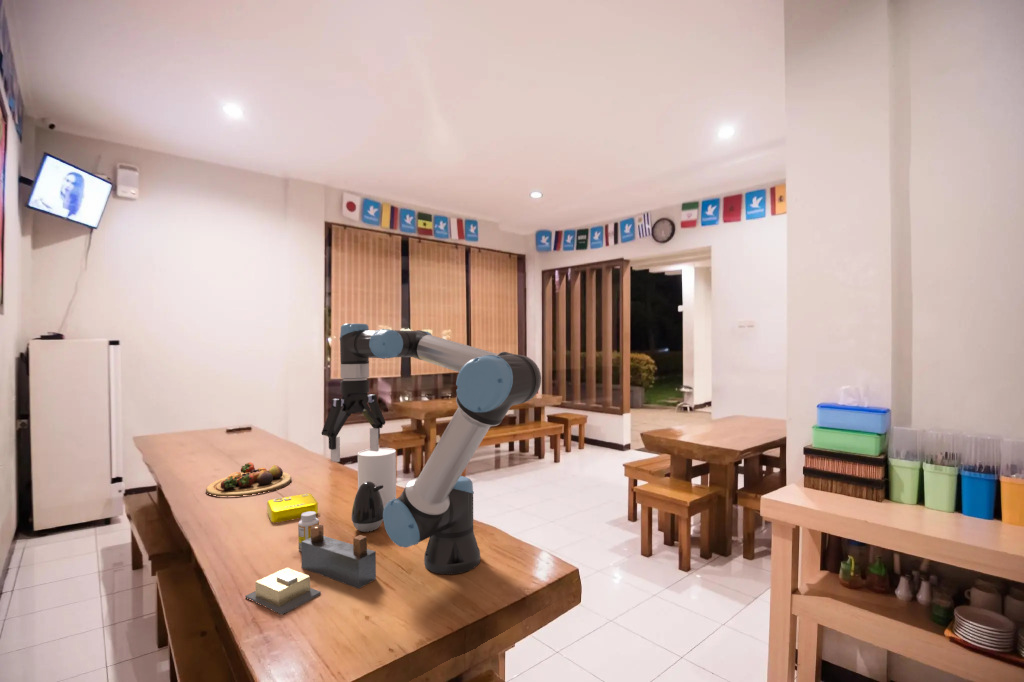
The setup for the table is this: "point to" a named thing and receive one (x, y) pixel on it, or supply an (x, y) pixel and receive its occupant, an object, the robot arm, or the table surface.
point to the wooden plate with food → (250, 481)
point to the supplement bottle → (306, 526)
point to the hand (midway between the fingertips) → (355, 455)
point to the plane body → (339, 558)
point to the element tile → (291, 507)
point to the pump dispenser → (368, 507)
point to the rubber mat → (287, 606)
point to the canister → (379, 471)
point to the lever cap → (282, 586)
